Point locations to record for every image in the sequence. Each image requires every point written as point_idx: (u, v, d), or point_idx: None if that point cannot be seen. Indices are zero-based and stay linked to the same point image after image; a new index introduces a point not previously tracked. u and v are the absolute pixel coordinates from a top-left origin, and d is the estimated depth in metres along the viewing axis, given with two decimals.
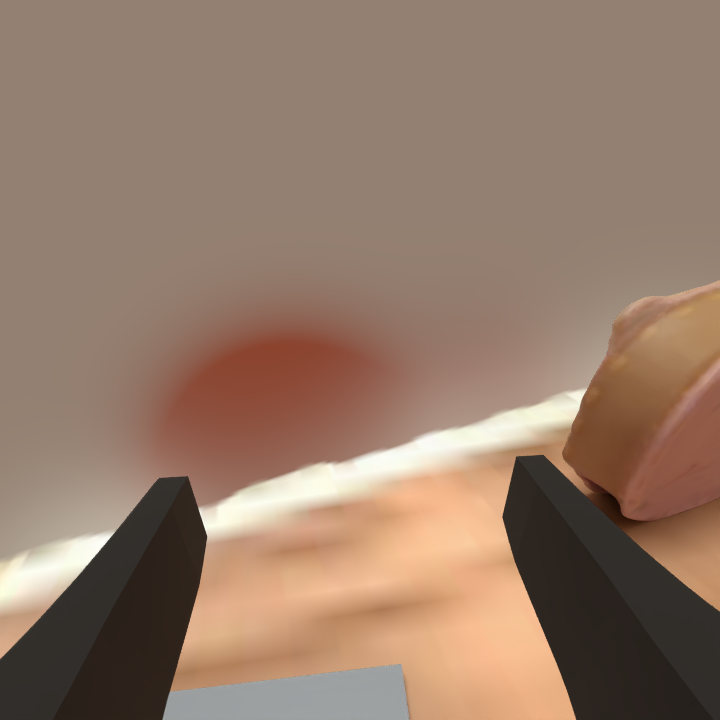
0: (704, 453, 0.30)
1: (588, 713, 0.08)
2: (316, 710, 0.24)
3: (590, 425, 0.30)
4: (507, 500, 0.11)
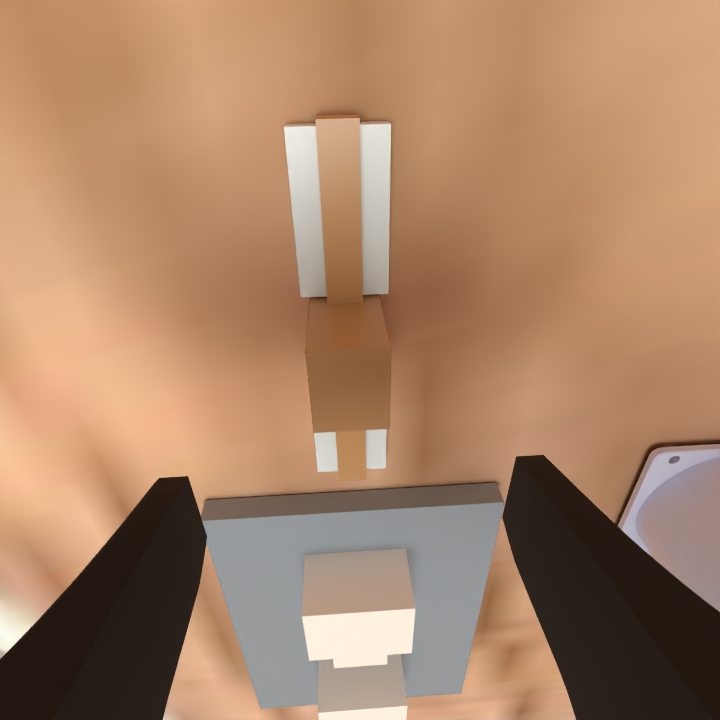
0: None
1: (588, 713, 0.08)
2: (253, 579, 0.23)
3: None
4: (507, 500, 0.11)
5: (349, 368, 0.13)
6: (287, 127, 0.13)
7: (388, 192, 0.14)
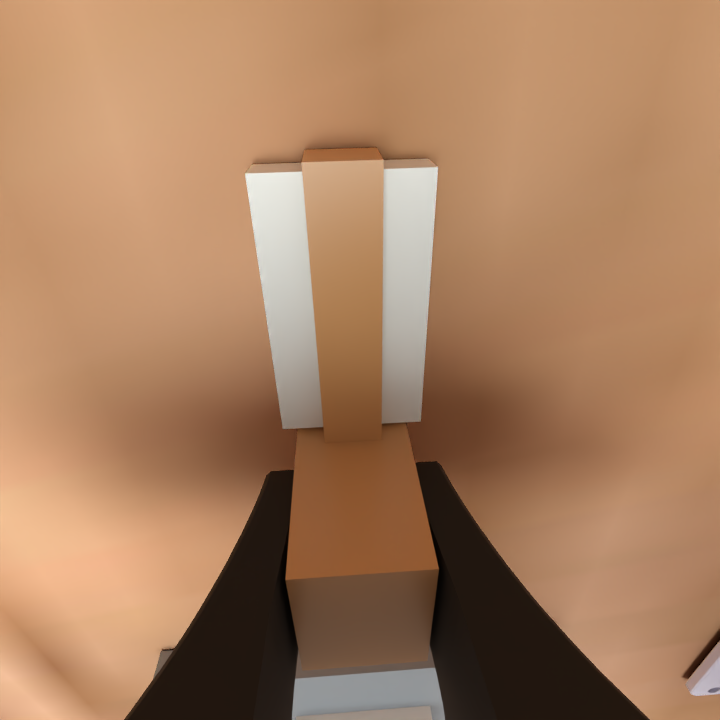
0: None
1: None
2: None
3: None
4: None
5: (363, 596, 0.07)
6: (251, 174, 0.07)
7: (428, 278, 0.08)
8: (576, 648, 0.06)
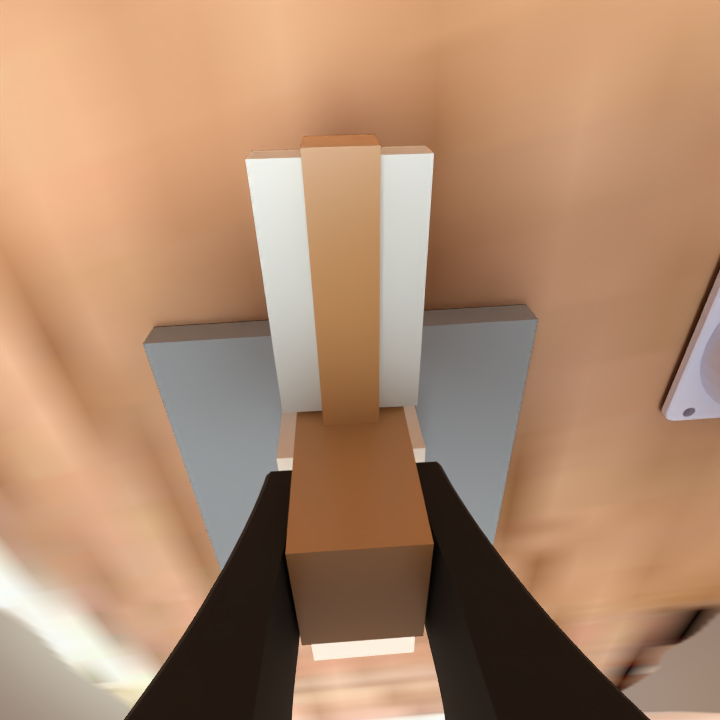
0: None
1: None
2: (220, 441, 0.19)
3: None
4: None
5: (360, 571, 0.08)
6: (252, 160, 0.07)
7: (424, 263, 0.08)
8: (576, 648, 0.06)
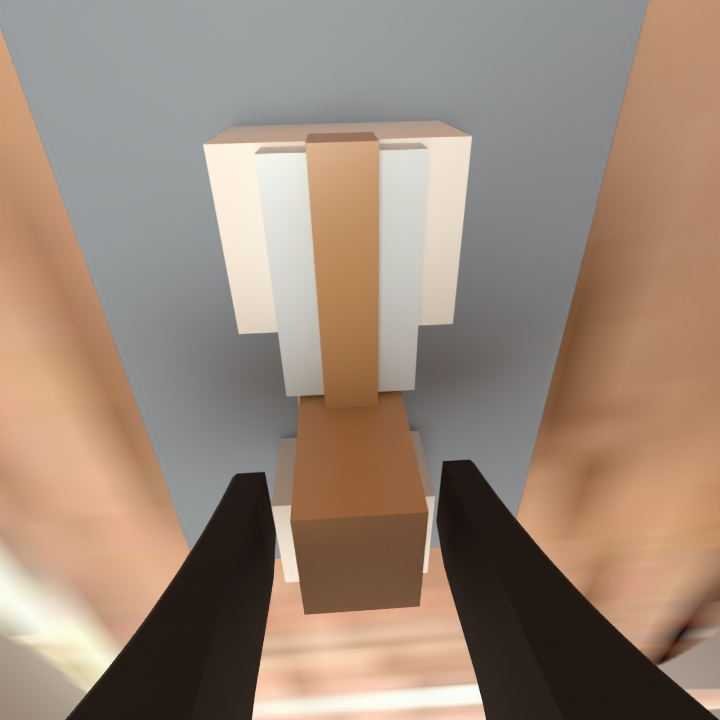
0: None
1: None
2: (135, 206, 0.12)
3: None
4: (438, 504, 0.10)
5: (360, 539, 0.08)
6: (260, 155, 0.08)
7: (420, 252, 0.09)
8: (630, 644, 0.06)
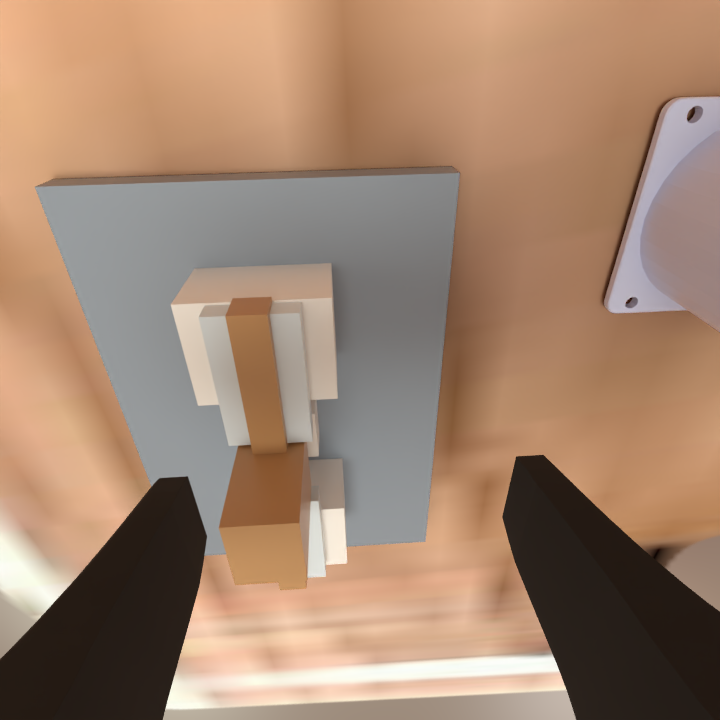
0: None
1: (588, 713, 0.08)
2: (131, 315, 0.18)
3: None
4: (507, 500, 0.11)
5: (261, 538, 0.14)
6: (202, 317, 0.14)
7: (303, 365, 0.15)
8: None
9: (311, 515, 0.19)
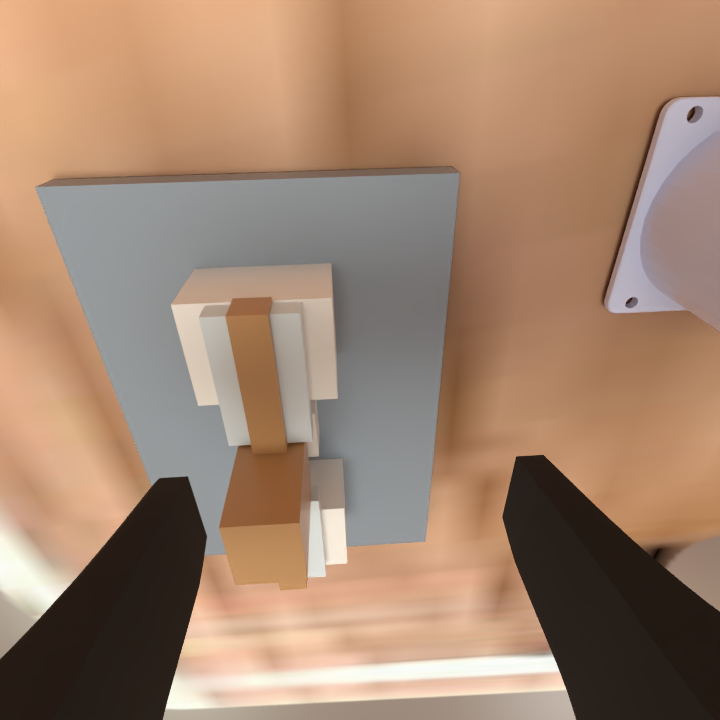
0: None
1: (588, 713, 0.08)
2: (131, 315, 0.18)
3: None
4: (507, 500, 0.11)
5: (262, 538, 0.14)
6: (202, 317, 0.14)
7: (303, 365, 0.15)
8: None
9: (311, 515, 0.19)
